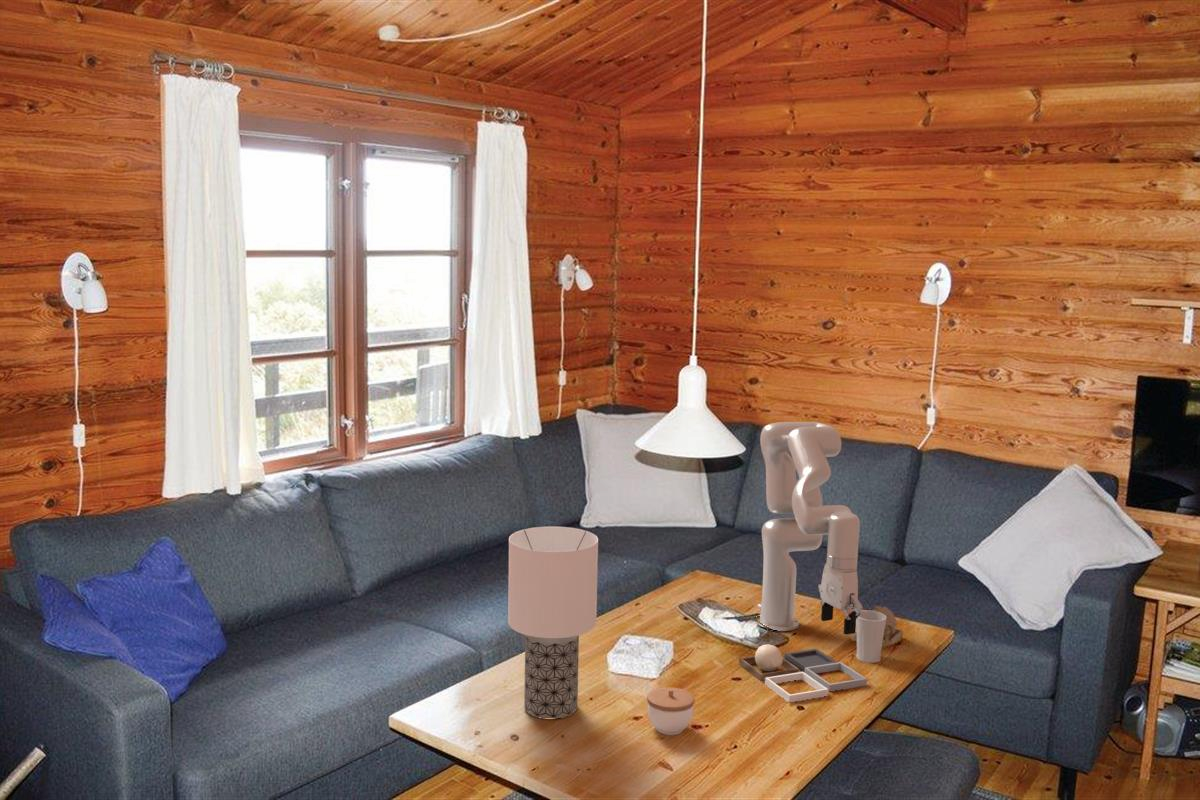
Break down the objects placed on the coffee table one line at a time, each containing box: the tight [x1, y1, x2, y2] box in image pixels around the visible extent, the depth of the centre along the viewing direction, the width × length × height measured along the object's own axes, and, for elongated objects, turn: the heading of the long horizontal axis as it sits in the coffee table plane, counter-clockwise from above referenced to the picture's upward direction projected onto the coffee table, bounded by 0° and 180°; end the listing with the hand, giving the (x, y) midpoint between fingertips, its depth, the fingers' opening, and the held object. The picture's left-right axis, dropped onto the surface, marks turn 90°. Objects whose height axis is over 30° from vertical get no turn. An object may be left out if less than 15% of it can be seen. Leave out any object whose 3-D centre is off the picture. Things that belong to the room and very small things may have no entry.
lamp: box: [507, 526, 599, 719], centre depth 244 cm, size 21×21×42 cm
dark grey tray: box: [783, 648, 839, 672], centre depth 277 cm, size 10×10×2 cm
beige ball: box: [754, 643, 784, 672], centre depth 271 cm, size 7×7×7 cm
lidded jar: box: [646, 686, 695, 736], centre depth 237 cm, size 11×11×9 cm
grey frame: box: [804, 661, 868, 692], centre depth 267 cm, size 11×11×2 cm
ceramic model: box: [850, 605, 904, 648], centre depth 294 cm, size 14×11×10 cm
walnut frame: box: [738, 655, 800, 682], centre depth 272 cm, size 11×11×2 cm
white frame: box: [764, 671, 829, 704], centre depth 260 cm, size 11×11×2 cm
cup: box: [855, 609, 886, 664], centre depth 280 cm, size 8×8×12 cm
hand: (837, 626), depth 265 cm, fingers open, 9 cm apart
